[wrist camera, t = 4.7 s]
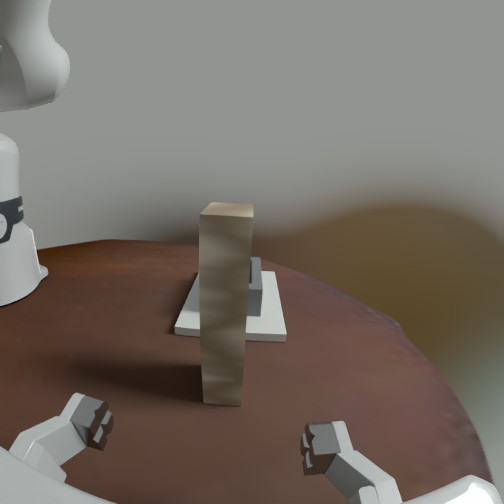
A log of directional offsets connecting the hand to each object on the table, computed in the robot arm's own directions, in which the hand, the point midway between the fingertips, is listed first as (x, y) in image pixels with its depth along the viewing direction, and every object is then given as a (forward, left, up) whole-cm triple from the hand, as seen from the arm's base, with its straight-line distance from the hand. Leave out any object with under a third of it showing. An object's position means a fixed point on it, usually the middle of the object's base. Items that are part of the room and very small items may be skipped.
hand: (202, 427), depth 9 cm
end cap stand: (-13, +24, -8) cm, 28 cm away
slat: (-5, +10, -8) cm, 14 cm away
